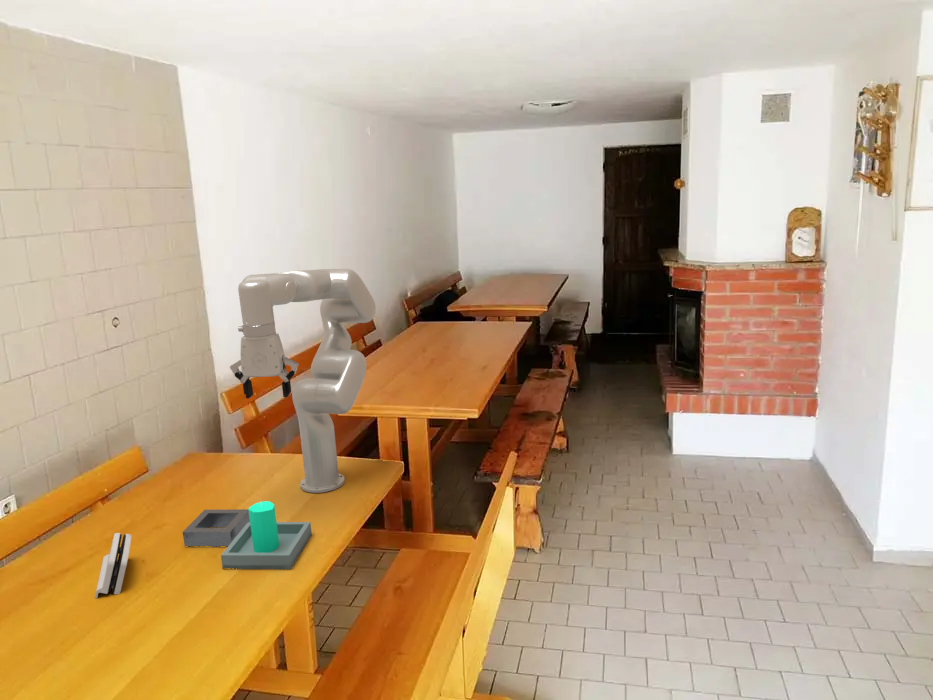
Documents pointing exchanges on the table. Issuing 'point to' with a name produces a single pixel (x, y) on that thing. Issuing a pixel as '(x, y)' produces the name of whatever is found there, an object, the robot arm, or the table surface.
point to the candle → (263, 527)
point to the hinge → (114, 565)
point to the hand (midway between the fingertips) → (268, 396)
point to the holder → (206, 536)
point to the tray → (283, 557)
